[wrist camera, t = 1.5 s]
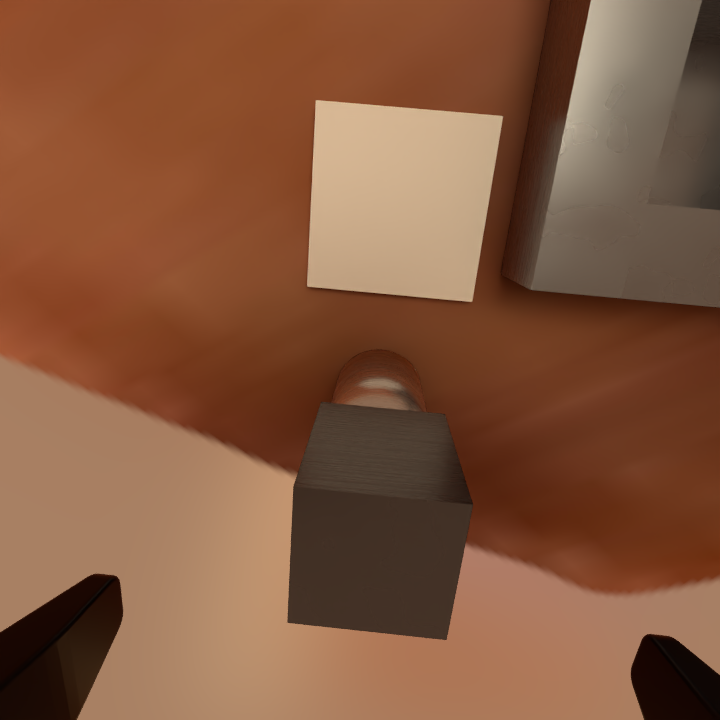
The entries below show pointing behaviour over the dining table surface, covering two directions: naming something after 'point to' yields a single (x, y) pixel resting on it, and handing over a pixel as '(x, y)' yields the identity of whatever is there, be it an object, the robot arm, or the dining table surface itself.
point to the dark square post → (378, 508)
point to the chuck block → (623, 155)
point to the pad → (399, 199)
